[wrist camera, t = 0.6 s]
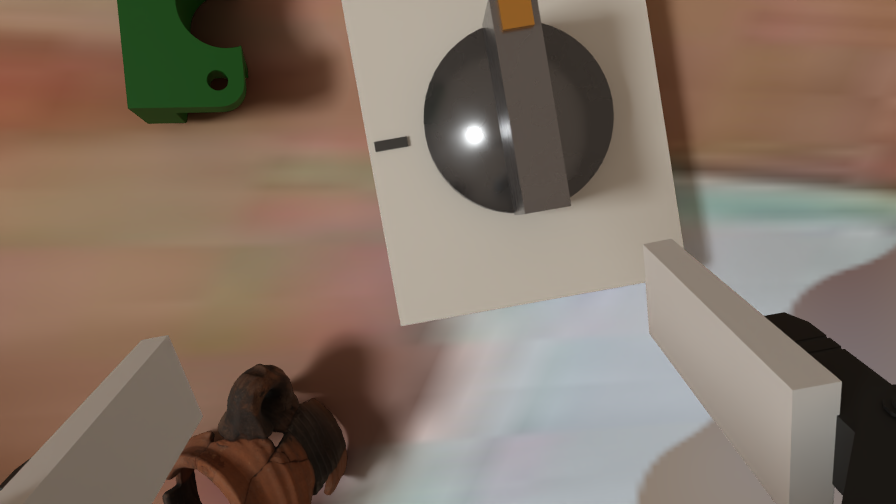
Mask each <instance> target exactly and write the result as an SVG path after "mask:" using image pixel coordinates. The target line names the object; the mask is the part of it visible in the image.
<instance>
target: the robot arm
mask: <svg viewBox="0 0 896 504" xmlns="http://www.w3.org/2000/svg"><path fill="white" fill-rule="evenodd" d="M643 253H644V267H645V280H646V294H647V307H648V321H649V334H650V335H651V336H652V338H653V339H654V340H655V342H656V343H657V344H658V346H659V347H660V348H661V350H662V351H663V352H664V354H665V355H666V356H667V358H668V359H669V361H670V362H671V363H672V365H673V366H674V367H675V369H676V370H677V371H678V373H679V374H680V375H681V377H682V378H683V379H684V381H685V382H686V383H687V385H688V386H689V388H690V389H691V390H692V392H693V393H694V394H695V396H696V397H697V398H698V400H699V401H700V402H701V404H702V405H703V406H704V408H705V409H706V410H707V412H708V413H709V415H710V416H711V417H712V419H713V420H714V421H715V423H716V424H717V425H718V427H719V428H720V429H721V431H722V432H723V433H724V435H725V436H726V437H727V439H728V440H729V442H730V443H731V444H732V446H733V447H734V448H735V450H736V451H737V452H738V454H739V455H740V456H741V458H742V459H743V460H744V462H745V463H746V465H747V466H748V467H749V469H750V470H751V471H752V472H753V474H754V475H755V477H756V478H757V479H758V481H759V482H760V483H761V485H762V486H763V487H764V489H765V490H766V491H767V493H768V494H769V495H770V497H771V498H772V500H773V501H774V502H775V503H776V504H833V502H834V488H835V487H836V489H837V490H838V491H839V492H840V493H841V494H842V495H843V500H842V504H896V385H891V384H890V383H889V382H887V381H886V380H885V379H883V378H882V377H881V376H880V375H878V374H877V373H876V372H874V371H873V370H872V369H870V368H869V367H868V366H866V365H865V364H864V363H862V362H861V361H860V360H858V359H857V358H856V357H854V356H853V355H852V354H850V353H849V352H848V351H846V350H845V349H841V346H840V345H839V344H837V343H836V342H835V341H833V340H832V339H831V338H827V337H826V335H825V334H824V333H823V332H821V331H820V330H819V329H817V328H816V327H815V326H813V325H812V324H811V323H809V322H807V321H805V320H802V319H800V318H797V317H795V316H792V315H789V314H787V313H784V312H783V313H778V314H772V315H767V316H763V315H762V314H761V313H760V312H758V311H757V310H756V309H755V308H754V307H752V306H751V305H750V304H749V303H748V302H747V301H745V300H744V299H743V298H742V297H741V296H739V295H738V294H737V293H736V292H735V291H733V290H732V289H731V288H730V287H729V286H727V285H726V284H725V283H724V282H723V281H721V280H720V279H719V278H718V277H717V276H716V275H714V274H713V273H712V272H711V271H710V270H708V269H707V268H706V267H705V266H704V265H702V264H701V263H700V262H699V261H698V260H696V259H695V258H694V257H693V256H692V255H690V254H689V253H688V252H687V251H686V250H685V249H683V248H682V247H681V246H680V245H679V244H677V243H676V242H675V241H674V240H673V239H667V240H661V241H656V242H651V243H646V244H643ZM202 417H203V415H202V413H201V411H200V408H199V406H198V404H197V401H196V399H195V397H194V394H193V392H192V390H191V387H190V385H189V382H188V380H187V378H186V375H185V373H184V371H183V368H182V366H181V364H180V361H179V359H178V357H177V354H176V352H175V350H174V347H173V345H172V343H171V340H170V338H169V336H168V335H166V336H161V337H156V338H151V339H145V340H141V341H140V342H139V343H138V345H137V346H136V347H135V348H134V349H133V350H132V351H131V352H130V353H129V354H128V355H127V356H126V357H125V358H124V359H123V361H122V362H121V363H120V364H119V365H118V366H117V367H116V368H115V369H114V370H113V371H112V372H111V373H110V374H109V376H108V377H107V378H106V379H105V380H104V381H103V382H102V383H101V384H100V385H99V386H98V387H97V388H96V389H95V390H94V392H93V393H92V394H91V395H90V396H89V397H88V398H87V399H86V400H85V401H84V402H83V403H82V404H81V405H80V407H79V408H78V409H77V410H76V411H75V412H74V413H73V414H72V415H71V416H70V417H69V418H68V419H67V420H66V421H65V423H64V424H63V425H62V426H61V427H60V428H59V429H58V430H57V431H56V432H55V433H54V434H53V435H52V436H51V438H50V439H49V440H48V441H47V442H46V443H45V444H44V445H43V446H42V447H41V448H40V449H39V450H38V451H37V452H36V454H35V455H34V456H33V457H32V458H30V459H29V460H27V461H26V462H25V463H23V464H22V465H21V466H19V467H18V468H17V469H15V470H14V471H13V472H12V473H11V474H10V475H9V476H8V478H7V479H6V480H5V481H4V482H3V483H2V484H1V485H0V504H152V502H153V500H154V499H155V497H156V495H157V494H158V492H159V490H160V488H161V487H162V485H163V483H164V482H165V480H166V478H167V477H168V475H169V473H170V471H171V470H172V468H173V466H174V465H175V463H176V461H177V460H178V458H179V456H180V454H181V453H182V451H183V449H184V448H185V446H186V444H187V443H188V441H189V439H190V437H191V436H192V434H193V432H194V431H195V429H196V427H197V426H198V424H199V422H200V420H201V419H202Z"/></svg>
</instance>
